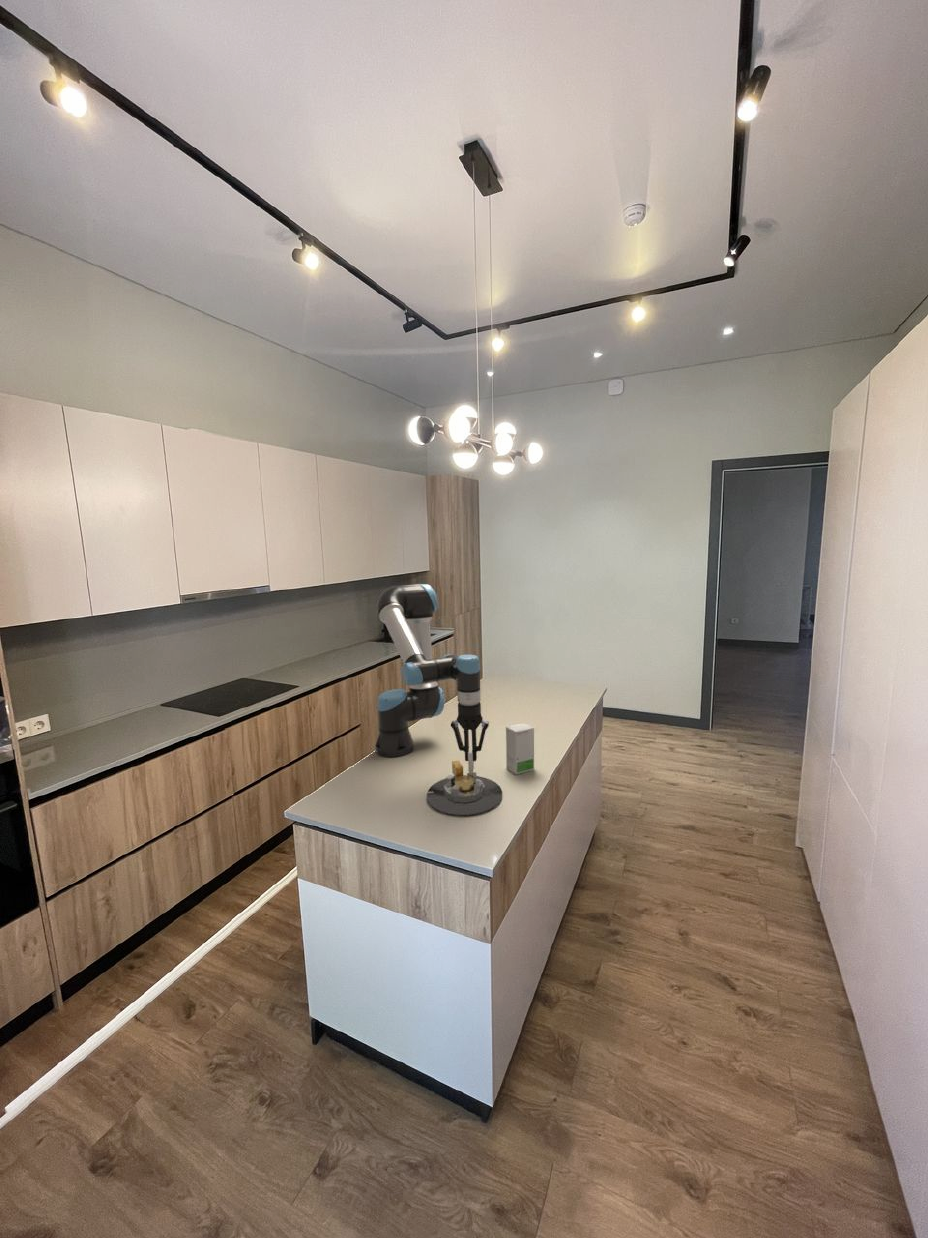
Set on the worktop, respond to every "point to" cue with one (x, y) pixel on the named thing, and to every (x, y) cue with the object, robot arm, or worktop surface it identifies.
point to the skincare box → (520, 748)
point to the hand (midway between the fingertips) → (471, 769)
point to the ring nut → (455, 791)
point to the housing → (461, 809)
